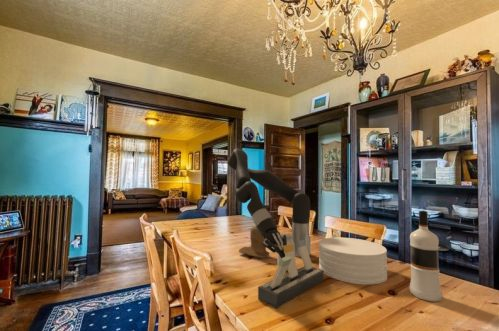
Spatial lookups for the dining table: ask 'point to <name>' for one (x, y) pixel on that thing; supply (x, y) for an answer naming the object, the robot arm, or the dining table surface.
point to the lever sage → (280, 271)
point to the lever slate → (304, 255)
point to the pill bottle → (289, 241)
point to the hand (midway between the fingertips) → (286, 260)
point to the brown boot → (255, 245)
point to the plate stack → (353, 260)
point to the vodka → (424, 262)
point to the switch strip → (290, 287)
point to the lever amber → (292, 266)
